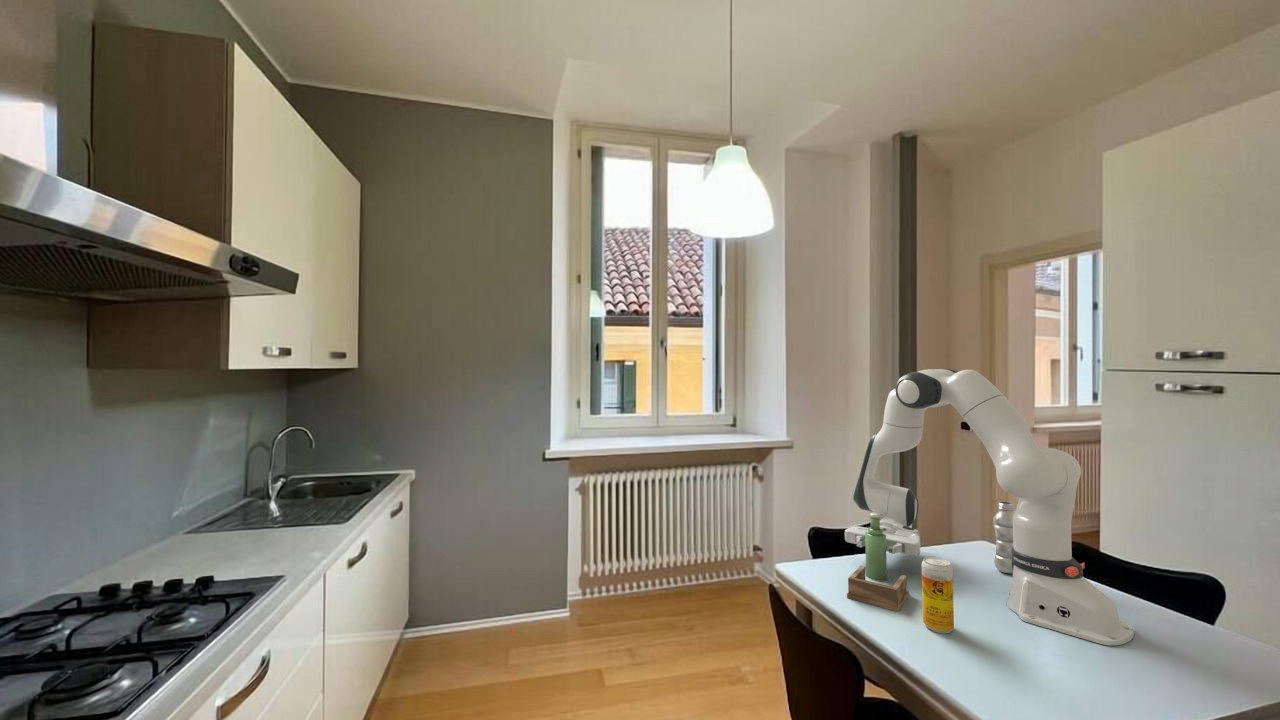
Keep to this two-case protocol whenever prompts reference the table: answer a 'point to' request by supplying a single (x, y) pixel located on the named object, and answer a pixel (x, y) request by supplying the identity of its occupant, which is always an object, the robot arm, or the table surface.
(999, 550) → the plastic bottle
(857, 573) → the tray
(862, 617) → the table surface
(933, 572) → the beer can
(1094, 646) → the table surface
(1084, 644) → the table surface
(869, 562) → the bottle
